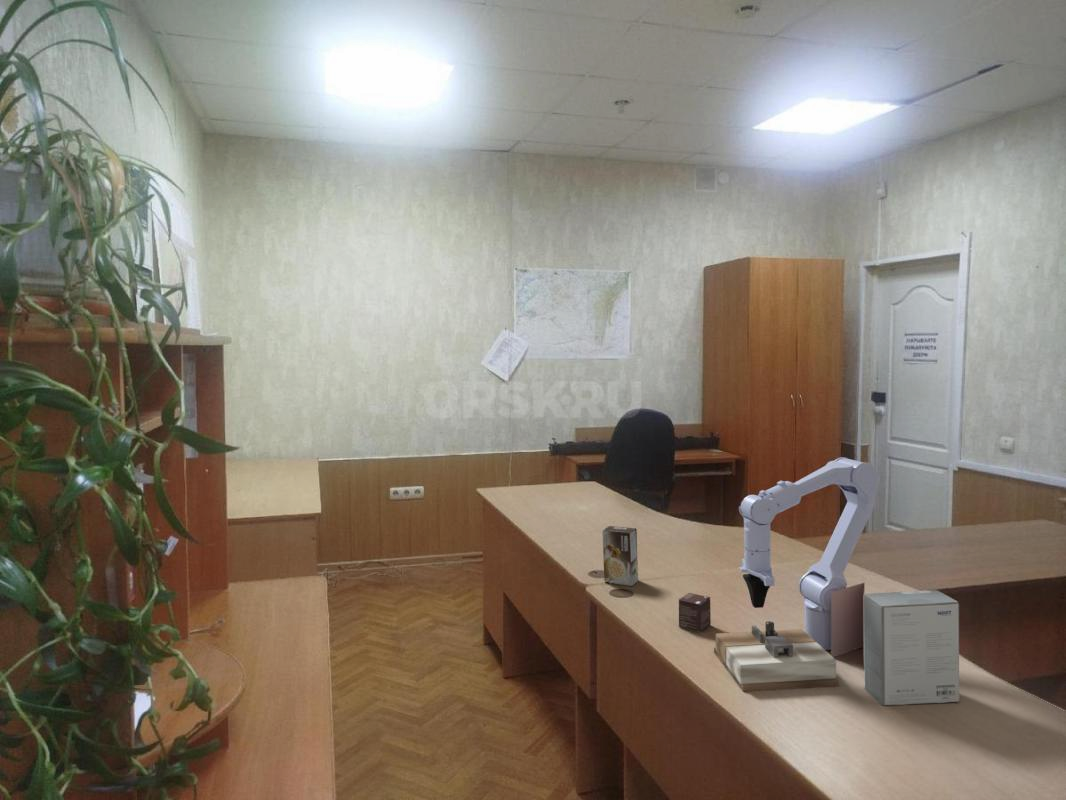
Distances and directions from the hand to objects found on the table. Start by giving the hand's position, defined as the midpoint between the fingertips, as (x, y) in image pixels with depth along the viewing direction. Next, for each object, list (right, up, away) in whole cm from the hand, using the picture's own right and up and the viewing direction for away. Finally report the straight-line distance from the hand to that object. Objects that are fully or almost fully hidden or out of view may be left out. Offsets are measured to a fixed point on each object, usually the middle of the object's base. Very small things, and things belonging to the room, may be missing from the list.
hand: (757, 606), depth 164 cm
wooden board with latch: (+1, -11, -8) cm, 14 cm away
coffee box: (-25, -8, +52) cm, 58 cm away
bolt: (+1, -6, -10) cm, 11 cm away
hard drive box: (+23, -12, -22) cm, 34 cm away
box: (-11, -10, +16) cm, 22 cm away
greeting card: (+22, -10, -4) cm, 24 cm away
